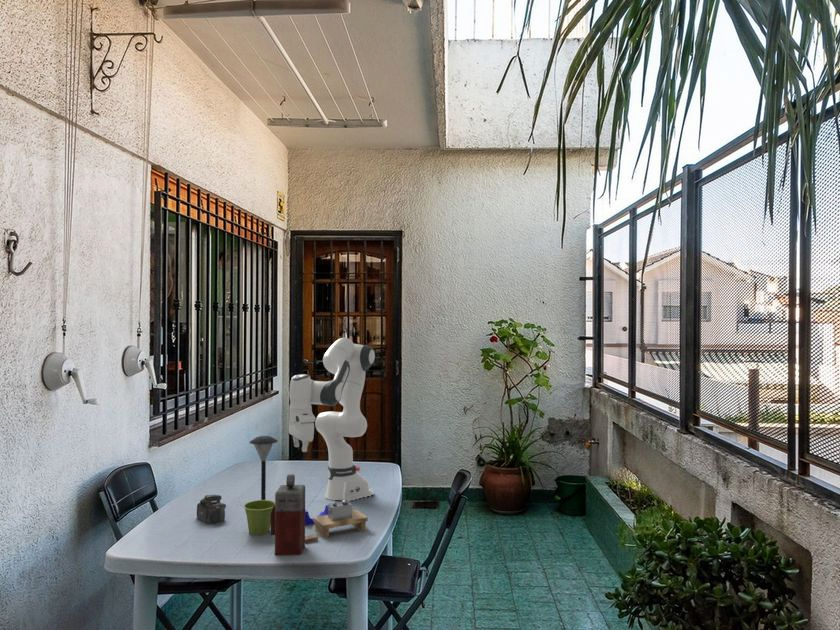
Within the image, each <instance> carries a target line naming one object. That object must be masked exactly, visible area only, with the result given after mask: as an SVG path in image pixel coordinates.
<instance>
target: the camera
mask: <svg viewBox="0 0 840 630" xmlns="http://www.w3.org/2000/svg"><path fill="white" fill-rule="evenodd" d="M221 501H222V496H221V495H220V494H206V495H205V496H204V497H203V498H202V499H201V500H200V501H199V503H197V505H196V518H198V519H199V520H200V521H202V522H205V523H206V524H207V523H208V524H211V525H213V524H219V523H222V522H225V520H226V519H225V518H226V511H225V510H226V508H227V505H226V503H223V502H221Z"/></svg>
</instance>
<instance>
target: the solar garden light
mask: <svg viewBox="0 0 840 630" xmlns="http://www.w3.org/2000/svg"><path fill="white" fill-rule="evenodd" d="M278 442H279V440H278V439H276V438H274V437H273V436H270V435H261V436H256V437H255V438H252V439H251V440H249V442H248V443H249V444H251V445H254V448H255V450H256V452H257V455H258V457H259V459H260V460H261V465H260V466H261V474H260V475H261V476H260V477H261V479H260V482H261V484H260V485H261V487H260V488H261V489H260V491H261V492H260V493H261V494H260V495H261V496H260V498H261V499H260V500H266V491H267V490H266V488H267V487H266V485H267V483H266V479H267V477H266V475H267V473H266V469H267V468H266V462H267V458H268V456H269V454H270V451H271V449H272V447H273V445H274V444H275V443H278Z"/></svg>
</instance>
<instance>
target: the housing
mask: <svg viewBox="0 0 840 630" xmlns="http://www.w3.org/2000/svg"><path fill="white" fill-rule="evenodd" d="M327 505H328V518H329V519H330V520H332V521H337V520H342V519H348V518H352V510H353V503H351V502H350V501H349V502H348V500H342V501H337V502H336V501H332V503H327Z"/></svg>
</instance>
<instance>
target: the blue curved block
mask: <svg viewBox="0 0 840 630" xmlns="http://www.w3.org/2000/svg"><path fill="white" fill-rule="evenodd" d="M324 515H328V504H326V505H325V507H324V511H321V512H320V513H319V514H318V515H317V516H316V517H319V516H324ZM313 524H314V525H315V522H313V518H311V517H310V515H309V511H308V510H307V509H305V526H307V525H313Z"/></svg>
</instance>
